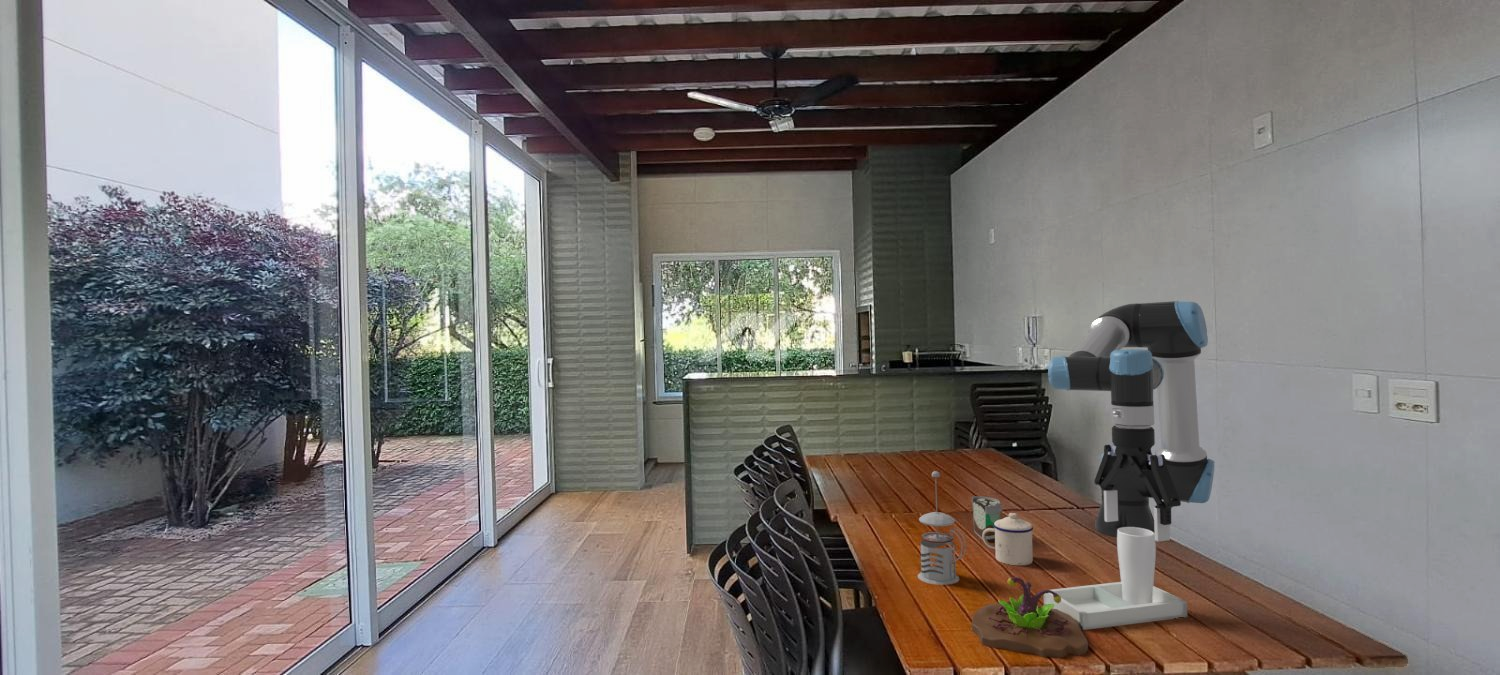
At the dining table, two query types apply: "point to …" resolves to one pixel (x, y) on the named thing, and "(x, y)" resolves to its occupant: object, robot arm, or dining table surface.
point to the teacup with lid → (1012, 540)
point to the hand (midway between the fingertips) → (1135, 530)
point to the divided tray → (1114, 606)
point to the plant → (1029, 626)
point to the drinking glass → (1136, 564)
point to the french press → (946, 570)
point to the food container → (985, 515)
